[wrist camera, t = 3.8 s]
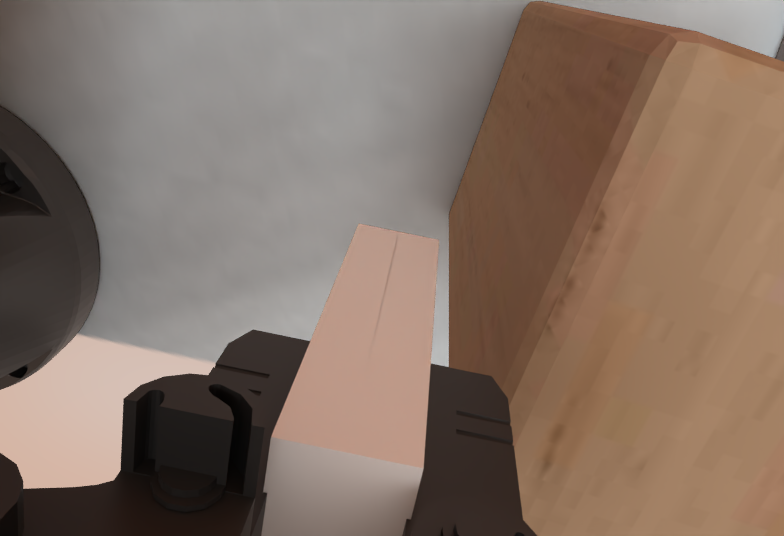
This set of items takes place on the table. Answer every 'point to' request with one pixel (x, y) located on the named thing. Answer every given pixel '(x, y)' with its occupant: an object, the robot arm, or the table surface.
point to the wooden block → (629, 276)
